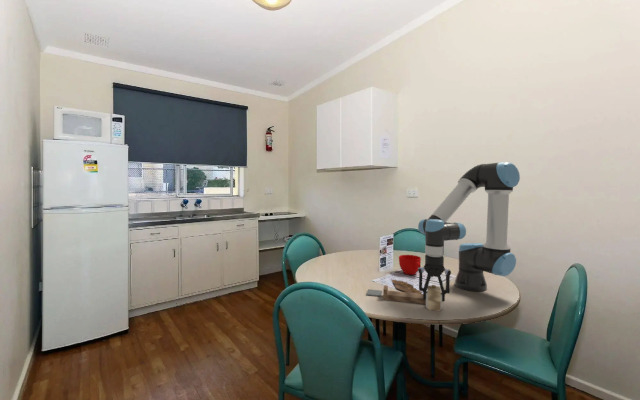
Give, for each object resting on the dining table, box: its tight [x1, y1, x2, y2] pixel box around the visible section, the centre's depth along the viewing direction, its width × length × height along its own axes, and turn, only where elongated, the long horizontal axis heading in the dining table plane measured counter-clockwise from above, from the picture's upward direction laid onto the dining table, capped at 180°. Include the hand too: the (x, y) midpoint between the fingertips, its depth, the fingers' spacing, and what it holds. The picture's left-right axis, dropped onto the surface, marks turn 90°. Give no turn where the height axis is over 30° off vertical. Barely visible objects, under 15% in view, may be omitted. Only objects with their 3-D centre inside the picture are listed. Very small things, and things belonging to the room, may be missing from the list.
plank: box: [382, 285, 426, 305], centre depth 136 cm, size 24×6×5 cm, turn 73°
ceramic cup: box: [398, 254, 422, 276], centre depth 176 cm, size 13×17×10 cm
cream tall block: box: [427, 284, 442, 312], centre depth 127 cm, size 5×5×10 cm
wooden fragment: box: [391, 278, 423, 294], centre depth 154 cm, size 26×11×1 cm, turn 10°
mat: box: [365, 288, 383, 298], centre depth 144 cm, size 7×7×1 cm
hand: (433, 307), depth 127 cm, fingers open, 5 cm apart
